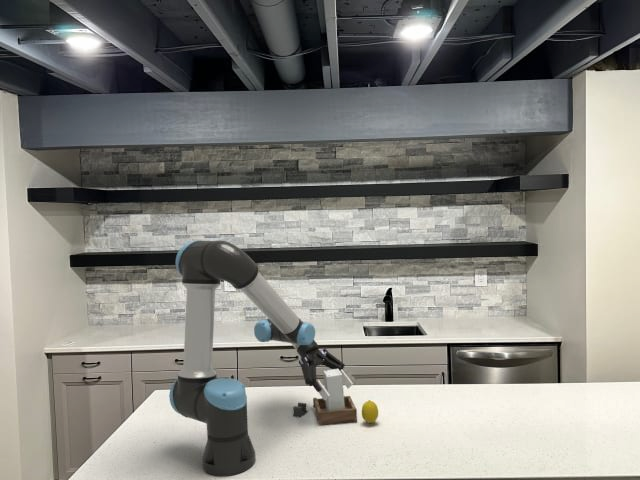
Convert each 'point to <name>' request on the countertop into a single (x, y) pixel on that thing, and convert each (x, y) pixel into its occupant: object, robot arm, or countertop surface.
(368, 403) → the lemon
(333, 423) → the open wooden tray
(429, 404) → the countertop surface
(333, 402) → the skincare box
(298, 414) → the clip
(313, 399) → the clip
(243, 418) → the robot arm
